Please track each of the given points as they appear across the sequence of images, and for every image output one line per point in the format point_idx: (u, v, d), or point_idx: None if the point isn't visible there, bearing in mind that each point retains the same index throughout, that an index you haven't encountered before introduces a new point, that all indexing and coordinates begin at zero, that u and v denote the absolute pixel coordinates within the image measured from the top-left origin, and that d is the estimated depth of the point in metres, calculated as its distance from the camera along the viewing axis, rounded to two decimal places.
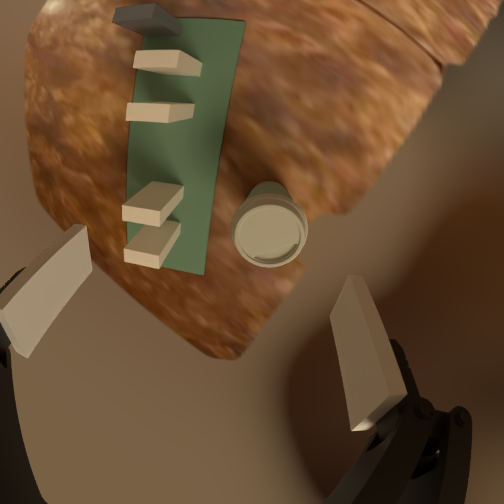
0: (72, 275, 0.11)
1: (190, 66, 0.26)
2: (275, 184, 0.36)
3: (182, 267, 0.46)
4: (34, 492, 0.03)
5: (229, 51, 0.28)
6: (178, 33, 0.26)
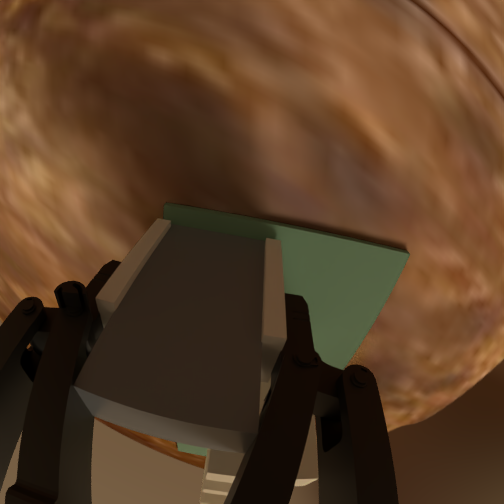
0: None
1: None
2: None
3: None
4: (85, 501, 0.04)
5: (362, 314, 0.17)
6: None
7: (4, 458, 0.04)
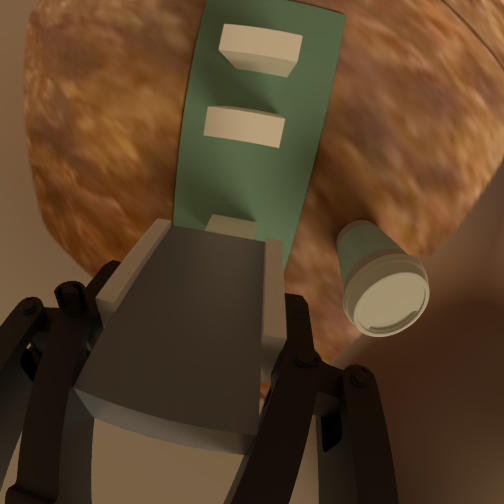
0: None
1: None
2: (375, 227, 0.28)
3: None
4: (85, 501, 0.04)
5: (327, 49, 0.21)
6: None
7: (4, 458, 0.04)
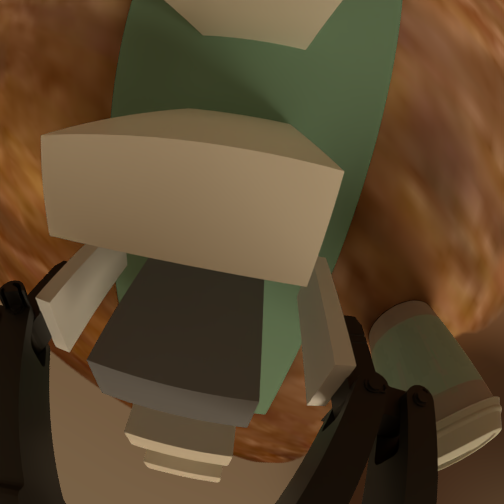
0: (111, 269, 0.12)
1: None
2: (435, 320, 0.15)
3: None
4: (56, 494, 0.04)
5: (379, 7, 0.08)
6: None
7: None
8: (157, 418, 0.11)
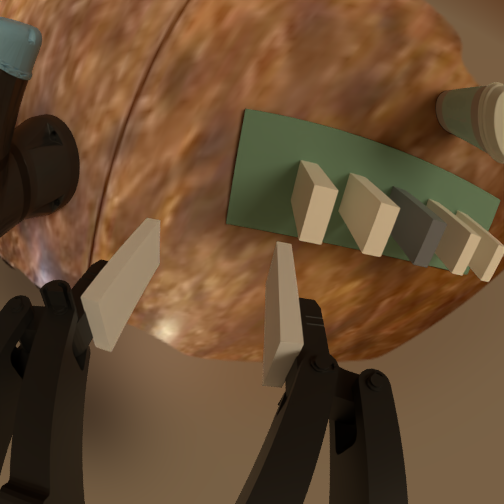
0: (147, 268, 0.13)
1: (319, 173, 0.25)
2: (445, 101, 0.22)
3: (490, 220, 0.30)
4: (78, 499, 0.04)
5: (288, 128, 0.27)
6: (406, 191, 0.29)
7: None
8: (451, 256, 0.24)
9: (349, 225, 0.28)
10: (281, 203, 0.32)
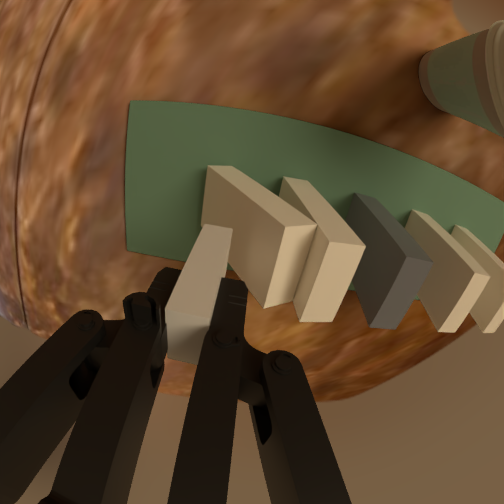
0: None
1: (256, 189, 0.16)
2: (431, 61, 0.13)
3: (499, 235, 0.21)
4: None
5: (185, 118, 0.19)
6: (375, 200, 0.20)
7: (32, 467, 0.04)
8: (440, 305, 0.16)
9: None
10: (188, 224, 0.23)
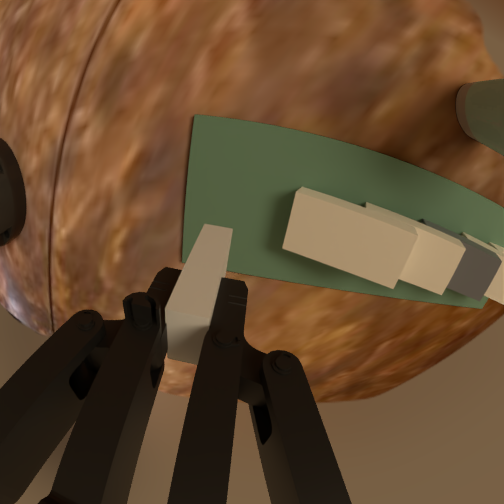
0: None
1: (362, 209, 0.20)
2: (469, 97, 0.14)
3: None
4: None
5: (253, 137, 0.20)
6: (429, 221, 0.22)
7: (32, 467, 0.04)
8: None
9: None
10: (249, 238, 0.25)
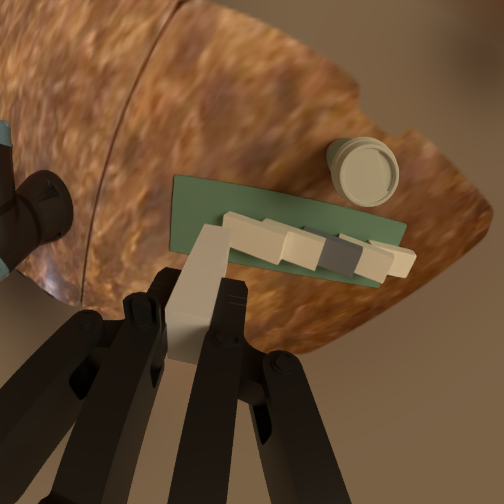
0: None
1: (258, 222, 0.42)
2: (328, 152, 0.36)
3: (396, 242, 0.44)
4: None
5: (203, 187, 0.42)
6: (309, 227, 0.44)
7: (32, 467, 0.04)
8: (379, 274, 0.42)
9: (284, 258, 0.43)
10: None
